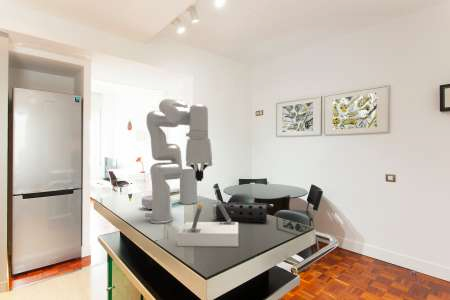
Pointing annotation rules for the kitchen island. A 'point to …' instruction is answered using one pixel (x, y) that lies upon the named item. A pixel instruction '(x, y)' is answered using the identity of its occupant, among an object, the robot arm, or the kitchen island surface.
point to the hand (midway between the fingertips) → (199, 180)
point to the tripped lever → (196, 217)
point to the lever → (224, 211)
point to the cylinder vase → (188, 187)
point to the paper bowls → (147, 202)
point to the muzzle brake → (242, 211)
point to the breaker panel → (208, 234)
